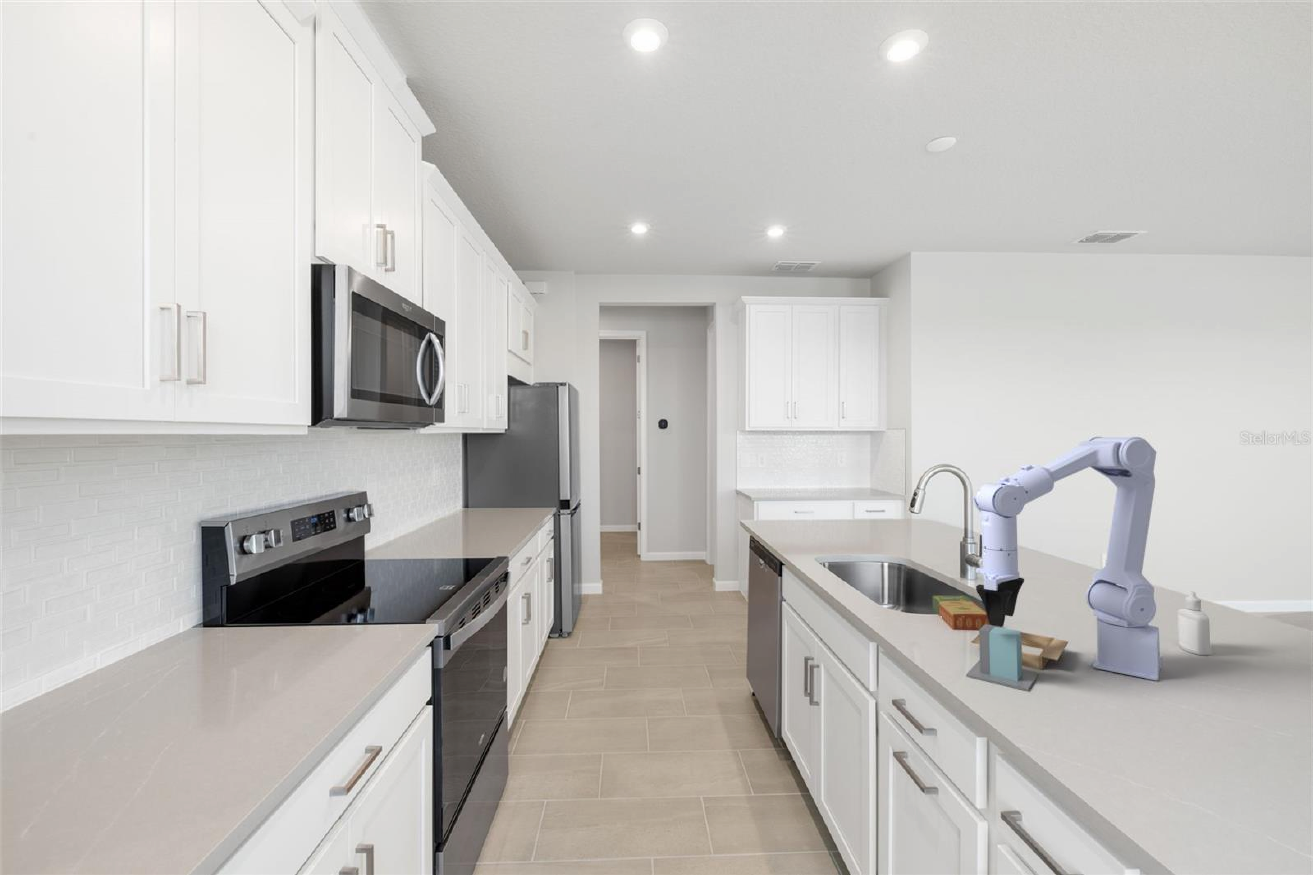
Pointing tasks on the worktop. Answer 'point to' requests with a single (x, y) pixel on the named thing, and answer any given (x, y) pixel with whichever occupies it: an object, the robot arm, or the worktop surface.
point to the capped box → (1000, 652)
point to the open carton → (1049, 645)
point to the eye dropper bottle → (1193, 627)
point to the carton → (960, 612)
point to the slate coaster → (1022, 683)
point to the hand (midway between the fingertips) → (1001, 620)
